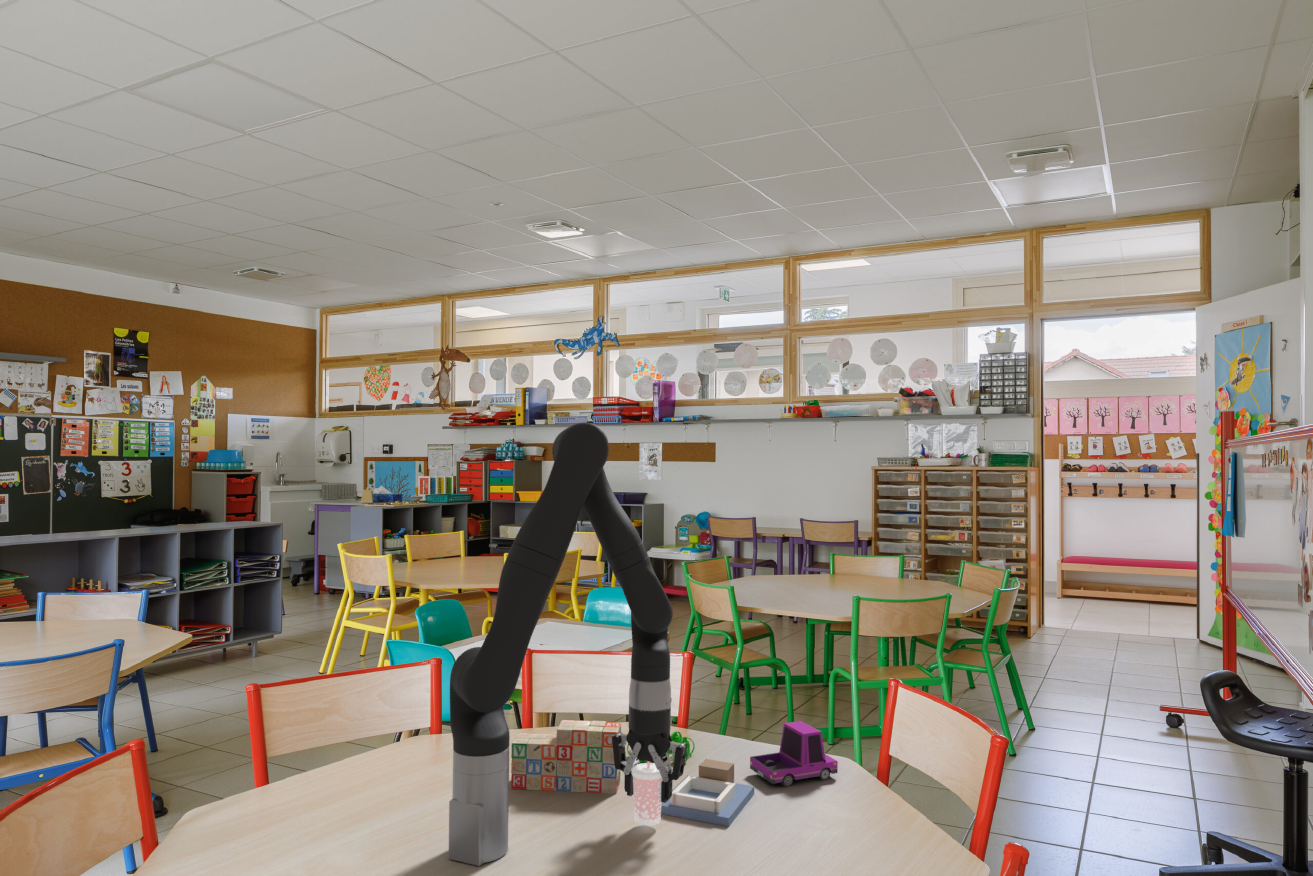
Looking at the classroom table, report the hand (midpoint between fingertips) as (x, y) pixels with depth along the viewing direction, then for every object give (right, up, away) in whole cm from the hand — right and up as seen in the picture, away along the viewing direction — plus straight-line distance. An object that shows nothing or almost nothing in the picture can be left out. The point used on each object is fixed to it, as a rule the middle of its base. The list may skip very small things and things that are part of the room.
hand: (648, 797), depth 149 cm
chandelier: (+2, -7, +36) cm, 37 cm away
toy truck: (+30, -7, +25) cm, 39 cm away
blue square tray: (+11, -6, +11) cm, 17 cm away
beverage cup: (0, -4, 0) cm, 4 cm away
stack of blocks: (-17, -6, +19) cm, 26 cm away
